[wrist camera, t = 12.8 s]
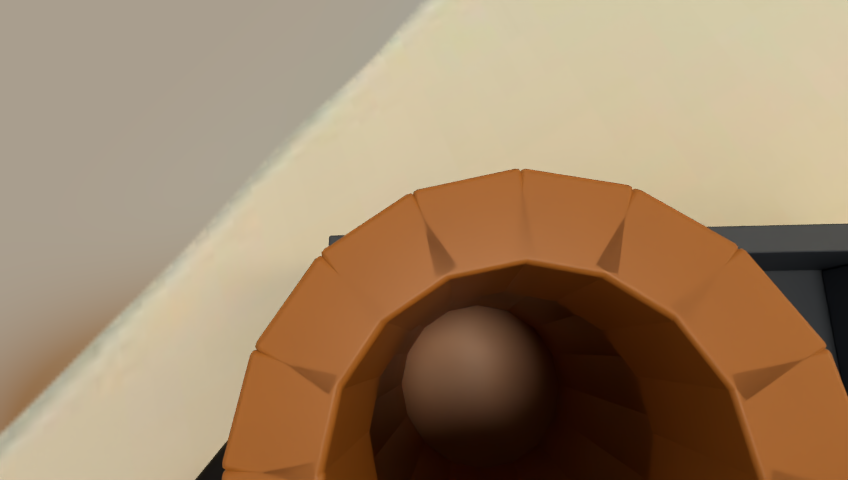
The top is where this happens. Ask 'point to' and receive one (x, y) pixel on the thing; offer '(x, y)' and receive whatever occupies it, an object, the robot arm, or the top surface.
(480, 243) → the amber jar
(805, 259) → the dark grey divided tray
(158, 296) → the top surface
